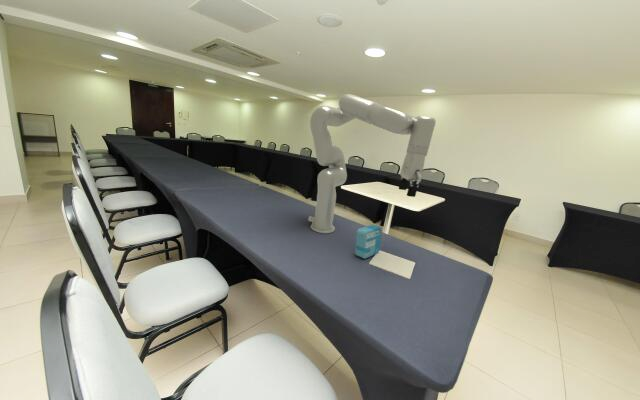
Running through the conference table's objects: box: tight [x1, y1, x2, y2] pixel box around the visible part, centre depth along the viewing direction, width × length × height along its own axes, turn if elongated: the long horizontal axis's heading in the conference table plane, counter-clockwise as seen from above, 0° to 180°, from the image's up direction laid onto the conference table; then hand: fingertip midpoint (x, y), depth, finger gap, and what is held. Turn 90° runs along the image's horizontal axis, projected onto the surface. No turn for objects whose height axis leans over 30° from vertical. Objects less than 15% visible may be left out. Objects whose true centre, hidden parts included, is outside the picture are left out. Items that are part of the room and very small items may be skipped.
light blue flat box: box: [354, 224, 383, 260], centre depth 102 cm, size 12×4×12 cm, turn 133°
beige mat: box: [368, 249, 416, 280], centre depth 98 cm, size 16×14×1 cm
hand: (406, 192), depth 97 cm, fingers open, 9 cm apart
